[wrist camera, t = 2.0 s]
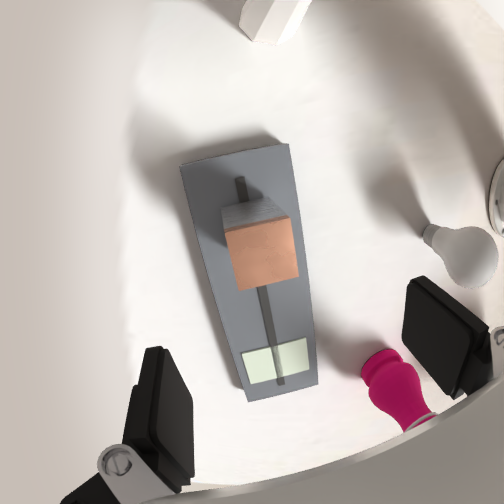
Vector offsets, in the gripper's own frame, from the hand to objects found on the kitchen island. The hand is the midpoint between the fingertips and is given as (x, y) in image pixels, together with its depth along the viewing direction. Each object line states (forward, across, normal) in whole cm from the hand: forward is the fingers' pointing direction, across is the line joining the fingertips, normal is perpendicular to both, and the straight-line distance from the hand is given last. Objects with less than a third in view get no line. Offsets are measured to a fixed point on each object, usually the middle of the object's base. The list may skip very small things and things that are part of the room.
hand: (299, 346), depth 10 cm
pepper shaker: (+18, -6, -18) cm, 26 cm away
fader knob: (+15, 0, 0) cm, 15 cm away
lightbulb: (+18, -21, +6) cm, 28 cm away
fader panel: (+18, 0, +8) cm, 20 cm away
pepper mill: (+18, -15, +25) cm, 34 cm away
